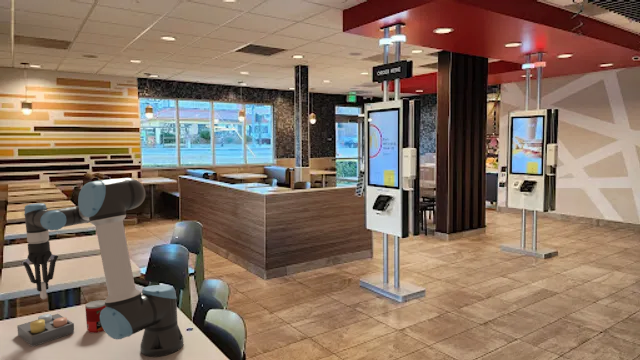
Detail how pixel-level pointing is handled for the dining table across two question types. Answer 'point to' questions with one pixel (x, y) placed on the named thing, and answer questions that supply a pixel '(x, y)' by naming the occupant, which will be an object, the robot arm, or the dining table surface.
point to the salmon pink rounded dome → (60, 322)
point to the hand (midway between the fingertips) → (43, 297)
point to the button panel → (45, 335)
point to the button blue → (46, 317)
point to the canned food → (94, 316)
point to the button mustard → (37, 326)
